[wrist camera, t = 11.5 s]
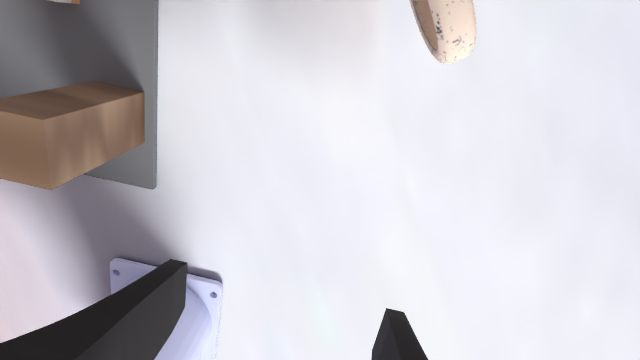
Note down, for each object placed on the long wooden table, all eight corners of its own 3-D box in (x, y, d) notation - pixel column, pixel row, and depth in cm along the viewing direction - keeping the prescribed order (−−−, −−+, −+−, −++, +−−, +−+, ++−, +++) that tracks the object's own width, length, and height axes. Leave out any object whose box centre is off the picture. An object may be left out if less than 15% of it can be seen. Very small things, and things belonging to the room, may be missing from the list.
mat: (156, 187, 23) (152, 189, 23) (-53, 140, 24) (-60, 142, 23) (159, -123, 17) (154, -127, 16) (-126, -179, 17) (-137, -184, 17)
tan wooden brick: (144, 142, 22) (51, 190, 15) (96, 132, 22) (-18, 174, 15) (144, 92, 20) (43, 120, 14) (93, 81, 20) (-31, 103, 14)
